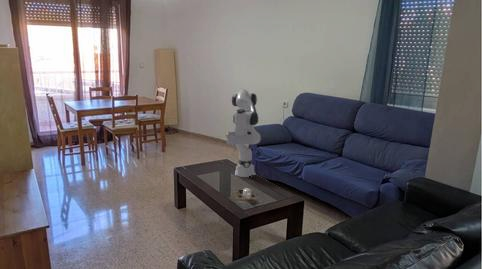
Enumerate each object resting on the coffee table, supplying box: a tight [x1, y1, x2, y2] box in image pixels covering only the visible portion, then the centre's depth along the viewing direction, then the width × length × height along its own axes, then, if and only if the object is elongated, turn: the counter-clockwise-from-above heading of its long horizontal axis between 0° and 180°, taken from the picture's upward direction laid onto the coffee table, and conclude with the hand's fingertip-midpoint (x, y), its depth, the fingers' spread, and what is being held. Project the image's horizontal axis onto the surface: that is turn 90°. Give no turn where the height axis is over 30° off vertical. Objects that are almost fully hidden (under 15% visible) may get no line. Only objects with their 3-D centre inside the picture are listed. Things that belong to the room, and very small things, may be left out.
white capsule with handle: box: [243, 187, 252, 201], centre depth 242 cm, size 10×6×7 cm, turn 10°
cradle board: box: [232, 188, 260, 204], centre depth 249 cm, size 22×16×3 cm
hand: (240, 149), depth 250 cm, fingers open, 8 cm apart
